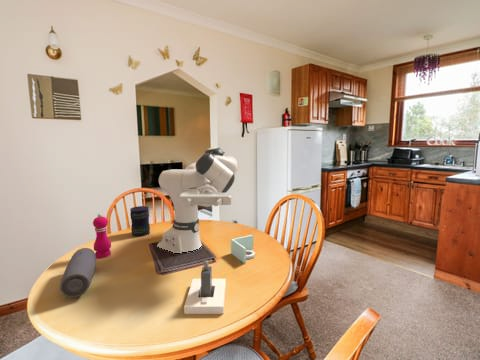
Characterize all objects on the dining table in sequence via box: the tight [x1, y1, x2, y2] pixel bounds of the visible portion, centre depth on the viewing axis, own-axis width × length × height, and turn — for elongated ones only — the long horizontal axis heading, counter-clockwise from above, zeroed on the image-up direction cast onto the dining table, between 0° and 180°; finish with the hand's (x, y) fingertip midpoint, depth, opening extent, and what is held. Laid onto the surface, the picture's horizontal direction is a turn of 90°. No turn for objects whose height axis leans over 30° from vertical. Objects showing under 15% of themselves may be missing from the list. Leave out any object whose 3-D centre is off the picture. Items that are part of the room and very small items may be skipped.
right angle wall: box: [230, 234, 257, 265], centre depth 118 cm, size 12×12×8 cm
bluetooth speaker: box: [59, 247, 97, 298], centre depth 94 cm, size 23×9×10 cm, turn 24°
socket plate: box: [183, 278, 227, 315], centre depth 86 cm, size 16×12×3 cm
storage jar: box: [129, 205, 151, 238], centre depth 144 cm, size 10×10×15 cm
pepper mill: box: [92, 213, 112, 259], centre depth 117 cm, size 7×7×20 cm
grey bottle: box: [200, 259, 213, 297], centre depth 85 cm, size 4×3×13 cm, turn 1°
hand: (203, 203), depth 93 cm, fingers open, 8 cm apart
